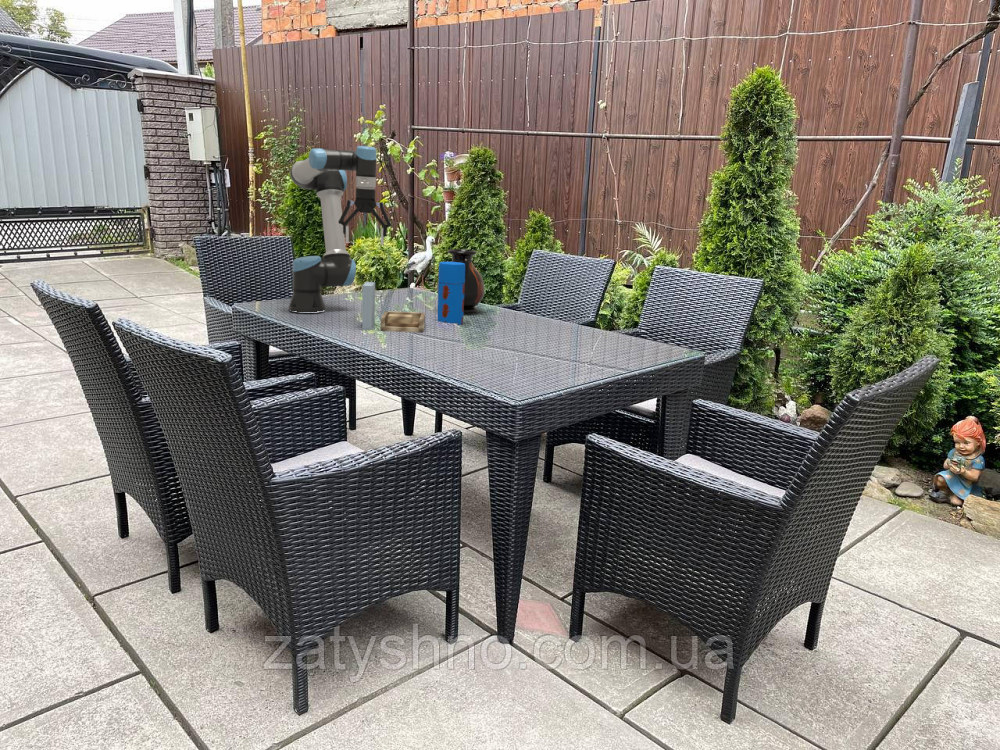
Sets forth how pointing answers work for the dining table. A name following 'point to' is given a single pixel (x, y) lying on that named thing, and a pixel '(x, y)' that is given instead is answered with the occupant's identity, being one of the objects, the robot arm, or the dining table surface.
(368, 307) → the pale blue block
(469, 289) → the amphora vase
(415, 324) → the offcut
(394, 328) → the box
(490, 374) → the dining table surface
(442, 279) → the thermos
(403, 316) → the offcut
